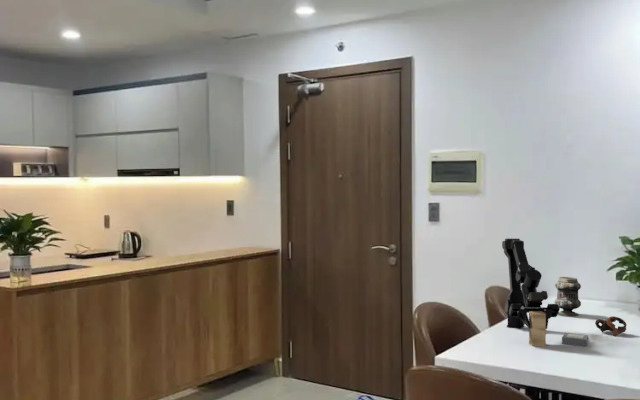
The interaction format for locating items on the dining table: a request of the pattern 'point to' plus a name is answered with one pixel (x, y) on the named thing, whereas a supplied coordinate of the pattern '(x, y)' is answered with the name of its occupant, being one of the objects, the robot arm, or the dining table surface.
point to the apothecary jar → (567, 295)
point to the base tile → (575, 339)
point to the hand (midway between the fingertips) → (538, 328)
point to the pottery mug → (611, 325)
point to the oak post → (537, 328)
